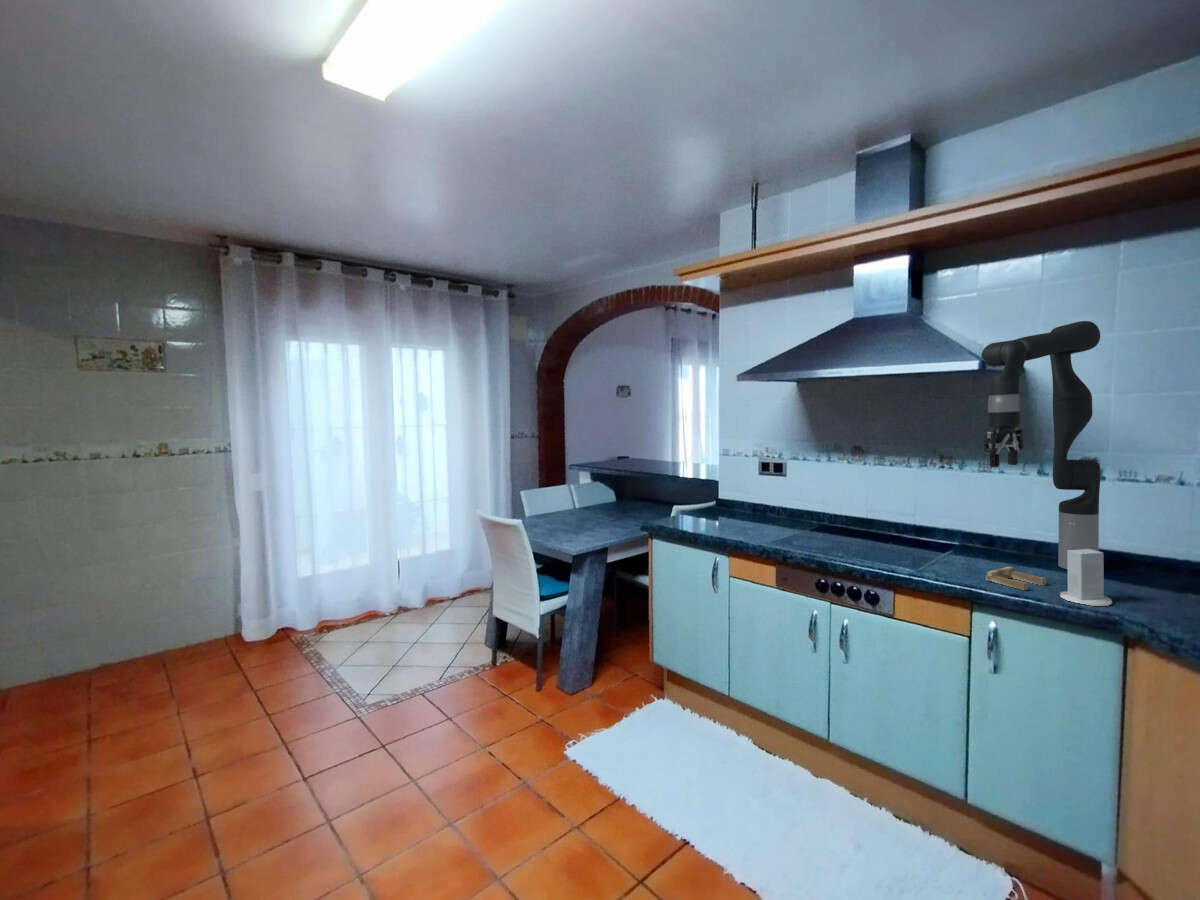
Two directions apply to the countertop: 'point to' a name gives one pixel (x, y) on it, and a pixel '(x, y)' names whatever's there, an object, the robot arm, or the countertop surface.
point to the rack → (1007, 572)
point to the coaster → (1092, 602)
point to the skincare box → (1085, 574)
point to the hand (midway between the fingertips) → (1003, 465)
